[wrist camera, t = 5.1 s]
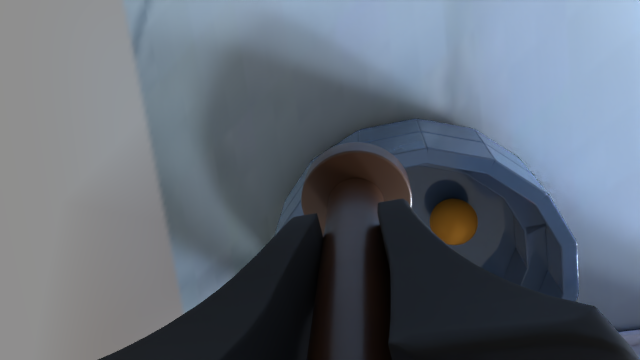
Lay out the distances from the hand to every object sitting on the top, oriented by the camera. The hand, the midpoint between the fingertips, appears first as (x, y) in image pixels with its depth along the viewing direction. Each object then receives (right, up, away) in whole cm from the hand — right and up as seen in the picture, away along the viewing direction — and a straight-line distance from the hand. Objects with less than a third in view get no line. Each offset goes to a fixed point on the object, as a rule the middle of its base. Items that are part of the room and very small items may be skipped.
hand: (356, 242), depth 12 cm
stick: (0, +1, +3) cm, 3 cm away
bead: (+5, 0, +9) cm, 10 cm away
